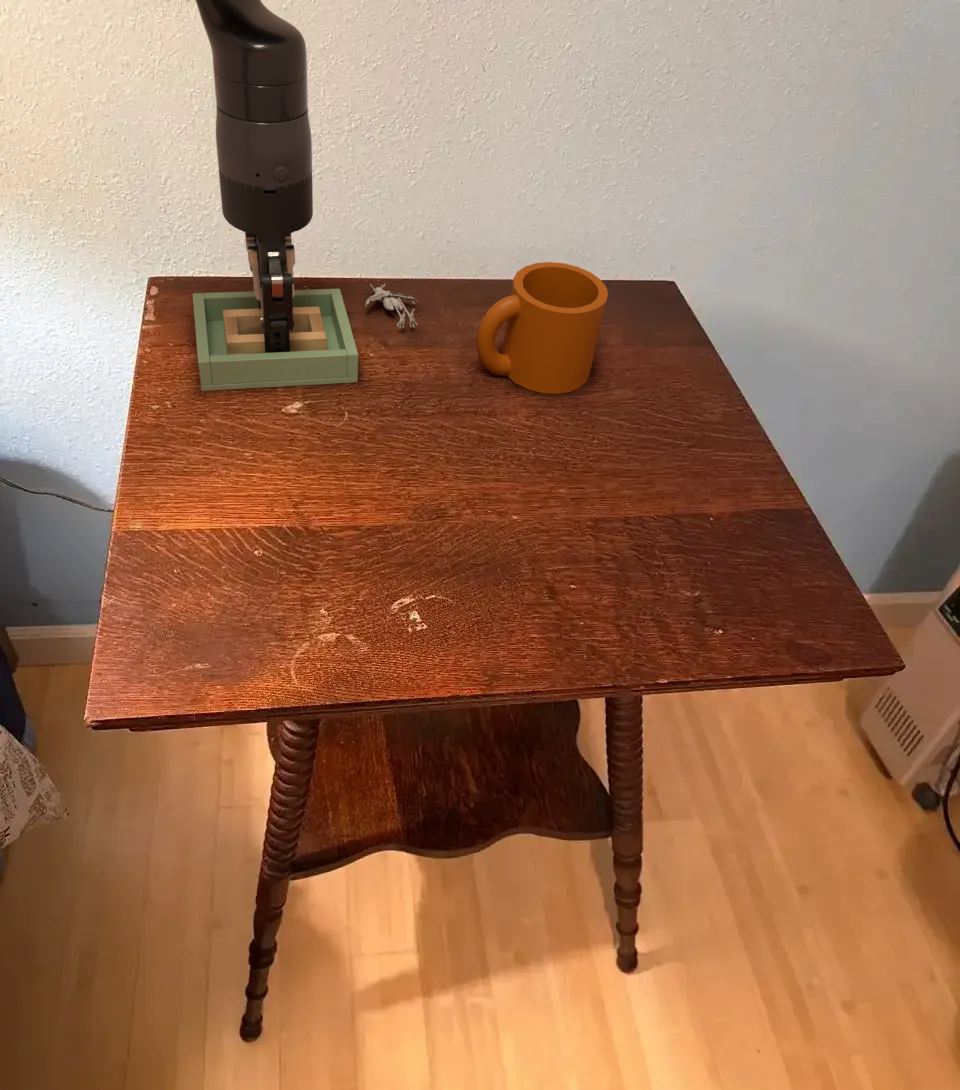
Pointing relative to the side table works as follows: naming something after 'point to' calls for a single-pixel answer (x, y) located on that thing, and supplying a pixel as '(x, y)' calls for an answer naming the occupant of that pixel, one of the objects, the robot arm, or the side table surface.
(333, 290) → the holder
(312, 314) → the frame
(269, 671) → the side table surface
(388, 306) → the figurine
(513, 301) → the mug
